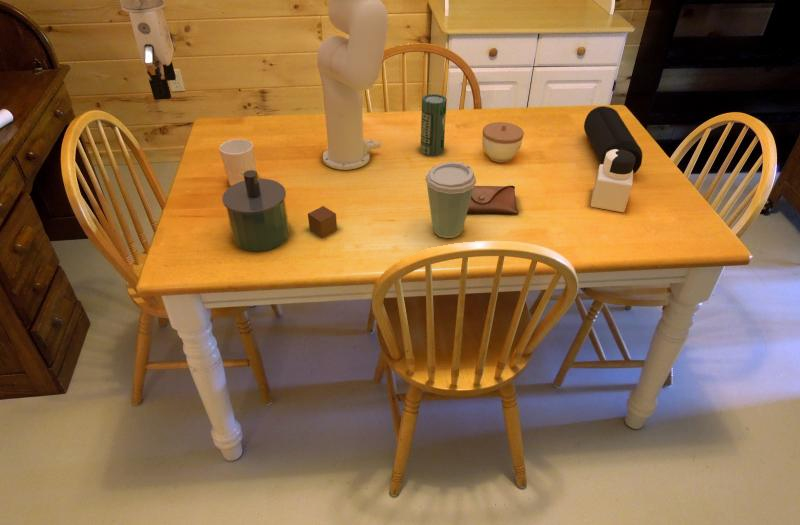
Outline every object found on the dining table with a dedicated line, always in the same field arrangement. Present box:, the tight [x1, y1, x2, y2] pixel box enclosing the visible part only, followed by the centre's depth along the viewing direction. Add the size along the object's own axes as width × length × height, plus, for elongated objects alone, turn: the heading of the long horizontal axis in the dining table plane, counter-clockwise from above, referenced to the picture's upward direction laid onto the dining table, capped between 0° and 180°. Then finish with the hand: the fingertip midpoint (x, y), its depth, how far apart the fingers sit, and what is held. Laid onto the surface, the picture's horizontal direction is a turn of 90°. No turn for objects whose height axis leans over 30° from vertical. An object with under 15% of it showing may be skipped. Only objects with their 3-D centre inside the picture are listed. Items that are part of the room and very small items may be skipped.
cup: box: [225, 198, 290, 253], centre depth 121 cm, size 12×12×10 cm
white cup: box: [218, 138, 257, 187], centre depth 138 cm, size 8×8×10 cm
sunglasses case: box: [467, 185, 520, 215], centre depth 133 cm, size 18×7×7 cm
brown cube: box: [307, 205, 338, 239], centre depth 124 cm, size 4×4×4 cm
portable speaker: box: [583, 105, 643, 175], centre depth 150 cm, size 26×10×10 cm, turn 178°
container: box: [590, 149, 636, 213], centre depth 132 cm, size 8×8×13 cm
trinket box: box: [481, 121, 525, 163], centre depth 150 cm, size 11×11×9 cm
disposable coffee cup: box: [425, 161, 477, 239], centre depth 121 cm, size 11×11×15 cm
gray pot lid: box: [221, 170, 287, 214], centre depth 116 cm, size 13×13×6 cm
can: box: [419, 93, 448, 157], centre depth 150 cm, size 6×6×15 cm
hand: (165, 89), depth 114 cm, fingers open, 9 cm apart
